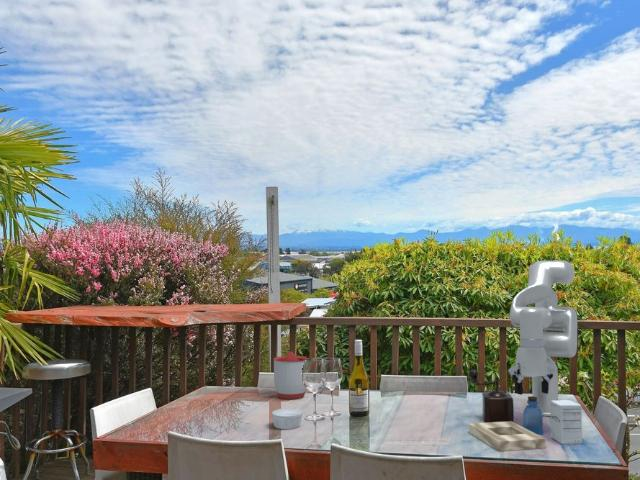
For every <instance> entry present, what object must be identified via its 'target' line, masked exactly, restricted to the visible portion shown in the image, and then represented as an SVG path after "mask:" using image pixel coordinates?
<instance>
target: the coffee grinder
mask: <svg viewBox="0 0 640 480" xmlns="http://www.w3.org/2000/svg"><path fill="white" fill-rule="evenodd" d="M467 375H468V377H470V379H471V383H473V384H475V385H476V386H487V385H493V384H495V387H494V389H492V390H490V391H488V392H486V391H485V392H482V415H481V416H482V421H483V423H489V422H507V421H512V422H514V423H515V418H514V417H515V415H514V398H513V397H512V395H511V393H509V392H505V391H503V390H501V389H499V383H500V380H499V378H500V377H499V376H498V375H496V376H494V377H495V380H493V381H488V382H487V381H486V382H479V379H478V377H479V376H478V375H479V372H478V370H476V369H471V370H469V371H468V373H467Z"/></svg>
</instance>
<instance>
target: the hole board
mask: <svg viewBox="0 0 640 480" xmlns="http://www.w3.org/2000/svg"><path fill="white" fill-rule="evenodd" d="M468 433H469V434H471V435H472V436H474V437H475V438H477V439H479V440H480V441H482V442H483V443H484V444H486V445H488V446H490V447H491V448H492V449H495V450H496V451H497V452H507V451H508V452H510V451H513V452H514V451H527V450H528V451H529V450H537V449H538V450H539V449H540V450H542V449H546V438H545V437H543V436H542V435H537V434H535V433H533V432H531V431H529V430H527V429H526V428H524V426H521V425H519V424H518V423H516V422H515V421H514V422H512V421H507V422H489V423H485V422H477V423H476V422H475V423H474V422H473V423H468Z"/></svg>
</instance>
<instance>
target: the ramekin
mask: <svg viewBox="0 0 640 480" xmlns="http://www.w3.org/2000/svg"><path fill="white" fill-rule="evenodd" d="M271 416H272V421H273V422H272V423H273V426H274V427H275V428H276V429H279V430H286V431H287V430H296V429H297V428H300V426H301V422H302V416H303V411H302V410H301V409H298V408H289V407H288V408H279V409H275V410H273V411H272V412H271Z"/></svg>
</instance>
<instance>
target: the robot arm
mask: <svg viewBox="0 0 640 480" xmlns="http://www.w3.org/2000/svg"><path fill="white" fill-rule="evenodd" d="M574 278H575V268H574V265H572V263H571V262H568V261H566V260H537V261H535V262H533V263H532V264H530V265H529V268H528V283H527V287H525V288H523V289H522V290H520V291H519V292H518V293H516V295H515V296H514V298H513V299H512V302H511V306H510V311H509V321H510V324H511V325H512V326H513V327H515V328H519V340H520V341H519V342H520V343H519V346H520V347H519V346H518V347H517V350H516V357H515V365H513V366H512V367H510V368H509V369H508V370H507V371H508V373H509V375H510V377H511V379H512V380H513V381H514V382H515V384H514V385H515V388H514V389H515V393H516V394H517V395H523V390H524V389H523V383H522V381H523V380H524V378H531V381H532V383H531V384H532V385H531V386H532V387H531V388H532V389H531V393H532V394H531V396H533V397H537V401H538V404H537V406H539V408H540V409H541V411H542V417H551V401H553V400H559V384H558V383H559V382H558V381H559V380H558V379H559V375H558V374H559V373H558V367H557V364H556V363H555V361H554V360H553V359H552V358H554V357H556V358H573V357H575V355H576V354H577V351H578V350H577V349H578V315H577V312H576V310H575V309H574V308H573V307H570V306H569V307H568V306H558V301H559V300H558V299H559V297H558V295H557V293H556V292H555V290H554V289H553V288H552V287H553V286H552V285H554V284H558V285H560V284H563V285H564V284H566V285H567V284H572V282H573V281H574ZM532 304H534V306H529V305H532ZM551 357H552V358H551Z"/></svg>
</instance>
